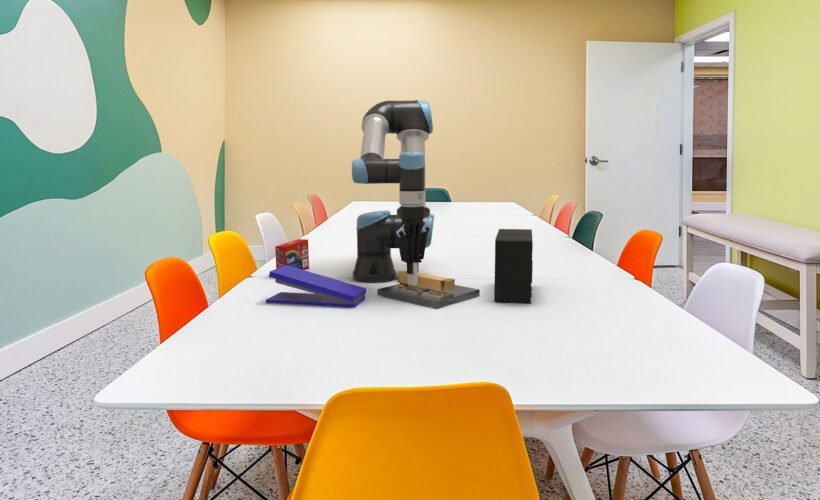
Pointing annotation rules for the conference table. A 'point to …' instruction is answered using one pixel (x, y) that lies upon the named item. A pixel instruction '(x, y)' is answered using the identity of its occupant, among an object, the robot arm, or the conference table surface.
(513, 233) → the speaker
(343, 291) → the stapler
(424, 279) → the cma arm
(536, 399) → the conference table surface
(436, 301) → the server board
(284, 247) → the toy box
